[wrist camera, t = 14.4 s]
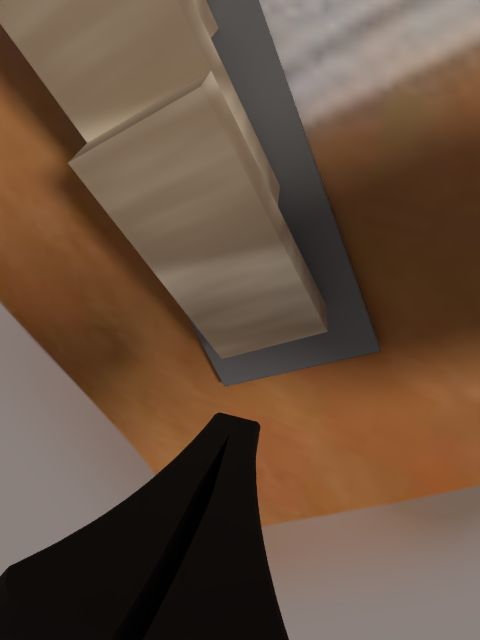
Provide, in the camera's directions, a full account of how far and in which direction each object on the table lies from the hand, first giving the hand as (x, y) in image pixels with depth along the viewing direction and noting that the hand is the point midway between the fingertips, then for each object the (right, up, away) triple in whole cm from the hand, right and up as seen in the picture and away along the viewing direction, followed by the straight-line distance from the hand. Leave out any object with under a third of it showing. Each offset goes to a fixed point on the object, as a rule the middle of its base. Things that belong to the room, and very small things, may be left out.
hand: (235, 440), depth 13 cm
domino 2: (+2, +3, +6) cm, 7 cm away
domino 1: (-1, +8, +4) cm, 9 cm away
